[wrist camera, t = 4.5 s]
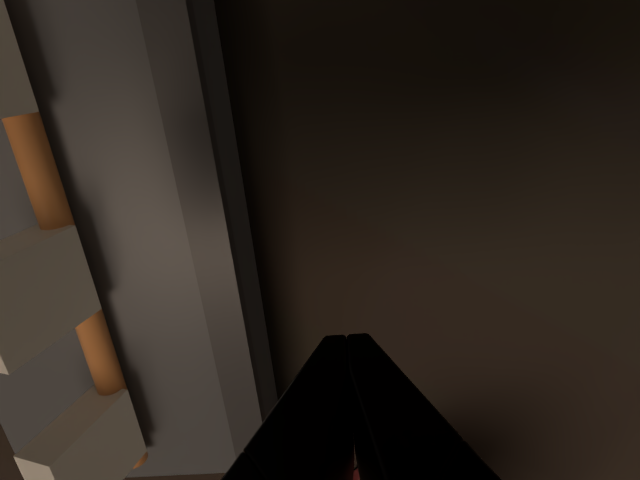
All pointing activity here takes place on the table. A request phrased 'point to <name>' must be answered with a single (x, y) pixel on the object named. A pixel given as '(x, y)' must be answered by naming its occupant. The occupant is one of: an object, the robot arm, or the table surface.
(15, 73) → the breaker paddles
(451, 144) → the table surface
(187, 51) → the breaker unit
